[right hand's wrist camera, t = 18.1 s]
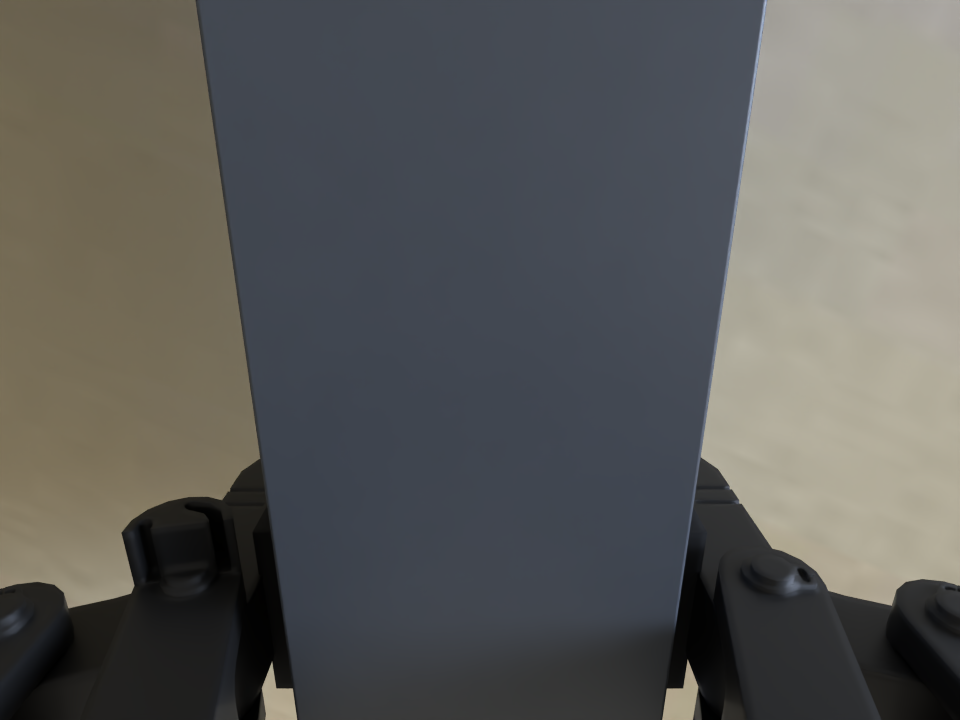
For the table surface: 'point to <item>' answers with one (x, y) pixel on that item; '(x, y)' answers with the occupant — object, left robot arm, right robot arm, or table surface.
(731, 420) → the table surface
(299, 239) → the post
